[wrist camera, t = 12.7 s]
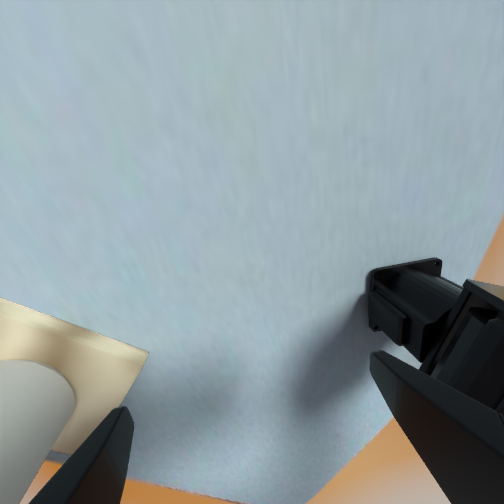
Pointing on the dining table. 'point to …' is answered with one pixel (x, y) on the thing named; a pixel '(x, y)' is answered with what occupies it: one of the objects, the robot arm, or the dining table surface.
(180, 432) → the dining table surface
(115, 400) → the board
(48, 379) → the can
